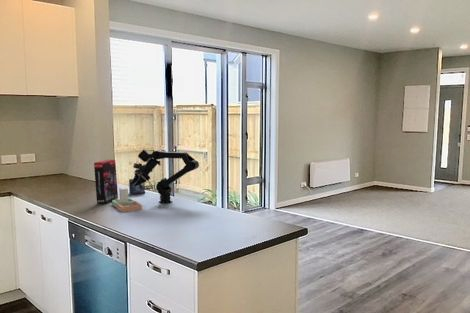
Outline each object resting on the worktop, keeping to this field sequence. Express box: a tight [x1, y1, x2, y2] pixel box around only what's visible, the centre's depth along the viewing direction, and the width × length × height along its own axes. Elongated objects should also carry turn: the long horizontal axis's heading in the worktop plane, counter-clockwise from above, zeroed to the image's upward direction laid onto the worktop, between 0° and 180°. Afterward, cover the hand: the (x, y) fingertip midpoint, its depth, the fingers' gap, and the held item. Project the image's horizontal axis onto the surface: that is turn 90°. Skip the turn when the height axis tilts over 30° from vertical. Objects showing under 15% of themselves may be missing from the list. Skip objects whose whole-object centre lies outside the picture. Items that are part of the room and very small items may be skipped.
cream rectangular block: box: [119, 187, 129, 203], centre depth 252 cm, size 4×6×11 cm
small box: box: [128, 178, 146, 195], centre depth 290 cm, size 11×6×10 cm, turn 112°
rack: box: [111, 197, 143, 213], centre depth 248 cm, size 23×12×3 cm, turn 31°
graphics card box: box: [93, 159, 119, 205], centre depth 263 cm, size 17×7×27 cm, turn 168°
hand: (133, 184), depth 255 cm, fingers open, 9 cm apart
